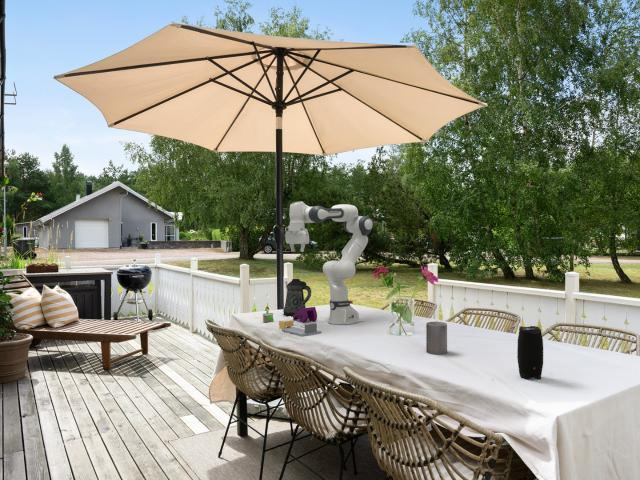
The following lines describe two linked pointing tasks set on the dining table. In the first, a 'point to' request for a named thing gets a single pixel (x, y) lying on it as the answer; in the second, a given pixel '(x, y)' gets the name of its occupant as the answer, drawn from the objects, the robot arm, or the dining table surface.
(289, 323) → the module
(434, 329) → the pillar candle
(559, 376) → the dining table surface
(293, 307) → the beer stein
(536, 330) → the portable speaker
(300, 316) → the mounting bracket
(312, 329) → the backplate
